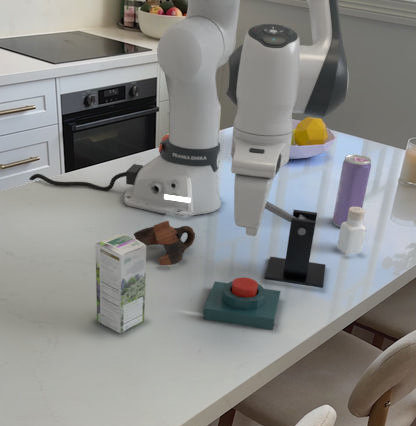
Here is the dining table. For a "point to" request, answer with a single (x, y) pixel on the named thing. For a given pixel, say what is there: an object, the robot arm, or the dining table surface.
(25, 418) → the dining table surface
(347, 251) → the pepper shaker
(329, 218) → the dining table surface
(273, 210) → the lever handle
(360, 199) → the beverage can
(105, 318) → the syrup box
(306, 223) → the lever stand
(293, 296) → the dining table surface
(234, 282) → the button
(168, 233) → the brown clay jug
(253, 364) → the dining table surface
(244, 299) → the teal base plate
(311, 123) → the fruit bowl
